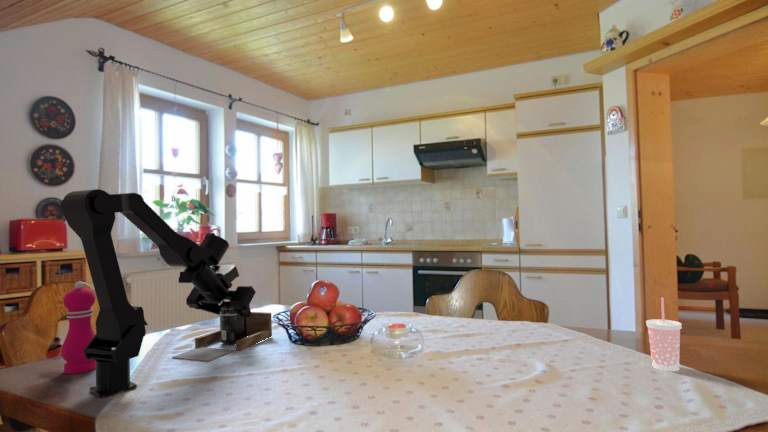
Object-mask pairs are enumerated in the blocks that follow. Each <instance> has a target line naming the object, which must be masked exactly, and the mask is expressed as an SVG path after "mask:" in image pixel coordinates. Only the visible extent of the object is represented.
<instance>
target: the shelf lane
mask: <svg viewBox="0 0 768 432" xmlns="http://www.w3.org/2000/svg"><path fill="white" fill-rule="evenodd" d="M272 323H273V322H272V312H265V311H263V312H262V311H261V312H260V311H251V315H250V317H247V316H246V324H247V336H248V337H245V338H242V339H240V340H237V341H236V345H235V352H242V351H244V350H246V349H249V348H251V347H253V345H254V346H255V344H256V343H258V342H260V341H262V340H265V339H266V338H269V337H271V336H272V337H273V334H272V333H273V329H272ZM218 340H219V341H220V329H218V330H214V331H212V332H209V333H206V334H202V335H200V336H197V337H194V349H196V348H198V347H205V346H208V345H210V344H213V342H214V343H216V342H219V341H218ZM265 341H266V340H265ZM258 344H259V343H258ZM256 345H257V344H256Z"/></svg>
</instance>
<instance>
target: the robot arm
mask: <svg viewBox="0 0 768 432" xmlns="http://www.w3.org/2000/svg"><path fill="white" fill-rule="evenodd" d="M60 209H61V212H62V214H63V217H64V218H65V221H66V222H67V224H68V225H67V226H68V227H69V228H70V229H71V230H72V231H73V232H74V233H75V234H76V235H77V237H79V239H80V240H81V244H82V247H83V251H84V255H85V258H86V262H87V267H88V270H89V273H90V274H89V275H90V277H91V280H92V284H93V287H94V292H95V297H96V299H97V303H98V307H99V311H98V314H97V317H96V321H95V330H96V331H95V336H94V337H93V339H92V340H91V341H90V343H89V344H88V345H87V346H86V348H85V349H84V354H85V356H86V359H88V360H90V359H93V360H96V368H95V386H92V387H89V392H91V393H92V394H94V395H95V396H97V397H98V398H105V397H108V396H110V395H115V394H119V393H122V392H126V391H130V390H134V389H137V387H138V384H136V383H135V382H133V381H131V366H130V365H131V364H130V363H131V359H133V358H137V357H139V355H140V351H141V347H142V344H143V341H144V337H145V336H146V333H147V332H146V329H147V328H146V326H148V323H147V321H146V318H145V313H144V309H143V307H142V306H137V305H136V306H133V305H132V304H131V303H130V301H129V300H128V295H127V291H126V288H125V284H124V283H125V282H124V280H123V276H122V272H121V268H120V263H119V260H118V255H117V252H116V248H115V244H114V241H113V236H112V230H113V227H114V225H115V220H116V213H120V214H121V215H122V216H124V217H125V218H126V219H127V220H129V222H130V223H131V224H133V225H134V226H135V227H136V228H137V229H138V230H139V231H140V232H141V233H142V234H144V235H145V236H146V237H147V238H148V239H149V240H150V241H151V242H152V243H153V244H155V245H156V246H157V248H158V251H159V255H160V257H161V258H162V260H163V261H164V262H165V264H167V265H168V266H170V267H172V268H176V267H177V268H184V270H183V271H179V276H178V280H177V281H178V283H179V284H192V286H193V288H192V289H191V291H190V293H189V294H188V296H187V297H186V299H185V300H186V301H185V303H186V305H187V307H189V308H190V309H195V310H198V311H203V312H207V313H211V314H213V315H217V316H220V311H219V307H220V304H221V303H222V300H230V306H231V307H232V308H233V309H234V311H236V312H238V313H240V314H243V315H245V316H247V317H250V315H251V312H252V311H251V310H252V309H251V306H250V304H251V302H252V300H253V298H254V296H255V294H256V290H255V288H254V286H252V285H240V286H237V287H236V289H235V290H229V289H232V286H233V283H232V282H233V281H234V280H235V279H237V278H239V276H240V273H239V271H238V268H237V265H236V264H222V265H219V264H220V262H221V260H222V259H223V258H224V256H225V254H226V252H227V251H228V249H229V247H230V244H229V242H228V240H226V239H224V238H222V237H221V236H219V235H216V234H215V233H214V232H207V233H206V234H205V236H204V238H203V240H202V242H201V243H200V244H198V243H197V242H195V241H194V240H192V239H191V238H189V237H187V236H185V235H181V234H180V233H179V232H176V231H175V230H174V229H173V228H172V227H171V226H170V225H169V223H167V222H166V221H165V220H164V219H163V218H162V217H161V216H160V215H159V214H158V213H157V212H156V211H155V210H154V209H153V208H152V207H151V206H150V205H149V204H148V203H147V202H146V201H144V197H143V196H142V195H141V194H139V193H136V192H126V193H124V192H123V193H115V194H114V193H113V194H112V193H111V194H110V193H108V192H107V191H105V190H104V189H86V190H85V189H84V190H75V191H74V190H73V191H70V192H68V193H67V194H66V195H65V196H64V197H63V199H62V200H61V201H60ZM113 348H114V349H113Z"/></svg>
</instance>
